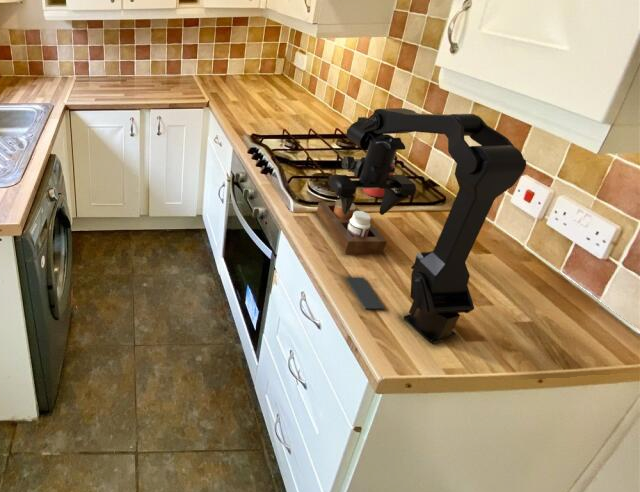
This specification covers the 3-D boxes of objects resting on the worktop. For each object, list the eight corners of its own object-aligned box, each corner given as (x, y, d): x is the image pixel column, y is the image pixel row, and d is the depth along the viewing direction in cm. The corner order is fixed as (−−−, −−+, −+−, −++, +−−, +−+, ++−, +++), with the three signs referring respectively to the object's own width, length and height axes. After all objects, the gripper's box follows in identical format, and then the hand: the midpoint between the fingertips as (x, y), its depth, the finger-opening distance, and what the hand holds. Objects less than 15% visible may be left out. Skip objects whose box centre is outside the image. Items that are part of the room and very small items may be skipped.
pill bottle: (358, 235, 110) (366, 209, 106) (368, 247, 105) (376, 220, 102) (340, 236, 109) (348, 209, 106) (350, 247, 105) (358, 221, 102)
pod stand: (348, 213, 119) (352, 201, 117) (382, 254, 103) (387, 241, 101) (315, 213, 119) (318, 202, 117) (344, 254, 103) (348, 241, 101)
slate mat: (384, 309, 87) (384, 308, 87) (365, 309, 87) (365, 308, 87) (363, 278, 95) (363, 277, 95) (345, 278, 95) (346, 277, 95)
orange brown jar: (354, 227, 113) (360, 208, 110) (339, 230, 112) (344, 211, 109) (341, 217, 117) (346, 198, 114) (326, 220, 116) (331, 200, 113)
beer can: (383, 188, 131) (393, 155, 126) (388, 200, 125) (400, 165, 120) (360, 186, 132) (369, 152, 127) (365, 196, 127) (375, 162, 122)
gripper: (398, 144, 104) (381, 196, 111) (324, 144, 104) (312, 196, 111) (427, 165, 94) (407, 221, 101) (346, 165, 94) (331, 221, 101)
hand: (362, 214), depth 103 cm, fingers open, 9 cm apart
